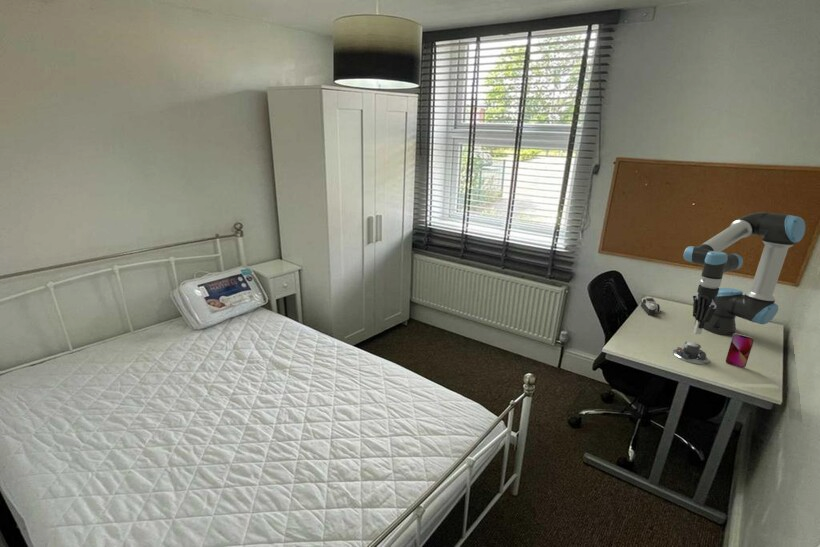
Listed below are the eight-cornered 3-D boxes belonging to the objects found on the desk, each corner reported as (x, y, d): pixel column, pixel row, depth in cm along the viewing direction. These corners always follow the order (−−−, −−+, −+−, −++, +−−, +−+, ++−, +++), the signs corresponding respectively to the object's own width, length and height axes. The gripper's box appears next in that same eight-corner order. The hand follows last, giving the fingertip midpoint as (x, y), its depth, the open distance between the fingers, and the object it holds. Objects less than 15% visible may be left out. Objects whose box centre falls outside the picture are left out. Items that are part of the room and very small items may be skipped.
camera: (662, 320, 230) (666, 304, 227) (646, 318, 232) (650, 302, 229) (653, 310, 245) (656, 295, 242) (637, 308, 247) (641, 293, 244)
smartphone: (724, 362, 184) (733, 333, 180) (724, 361, 185) (733, 332, 181) (745, 368, 180) (754, 338, 175) (745, 367, 180) (754, 337, 176)
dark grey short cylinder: (692, 353, 191) (695, 341, 189) (701, 359, 186) (704, 347, 184) (677, 352, 191) (680, 341, 189) (686, 359, 185) (689, 347, 184)
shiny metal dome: (694, 350, 196) (695, 344, 195) (715, 364, 182) (717, 358, 181) (666, 349, 195) (667, 343, 194) (685, 364, 182) (687, 358, 181)
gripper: (690, 281, 184) (679, 327, 191) (711, 290, 172) (698, 340, 179) (706, 281, 184) (695, 327, 192) (728, 290, 172) (715, 340, 179)
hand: (697, 333), depth 185 cm, fingers closed
